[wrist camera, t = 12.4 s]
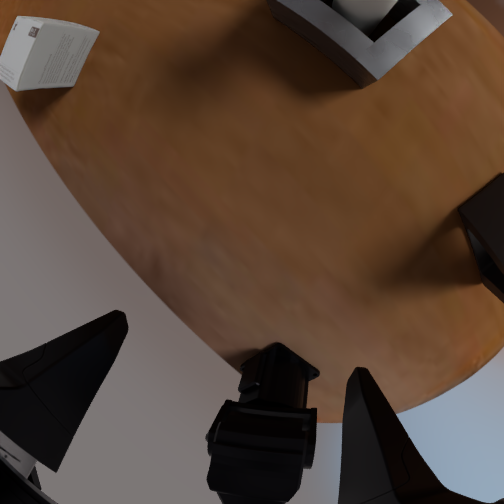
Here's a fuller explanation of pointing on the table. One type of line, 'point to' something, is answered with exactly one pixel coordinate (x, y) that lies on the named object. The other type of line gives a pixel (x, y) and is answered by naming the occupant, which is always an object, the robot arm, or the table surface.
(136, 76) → the table surface
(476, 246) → the phone stand
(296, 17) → the block
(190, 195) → the table surface
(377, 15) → the pin
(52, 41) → the skincare box
